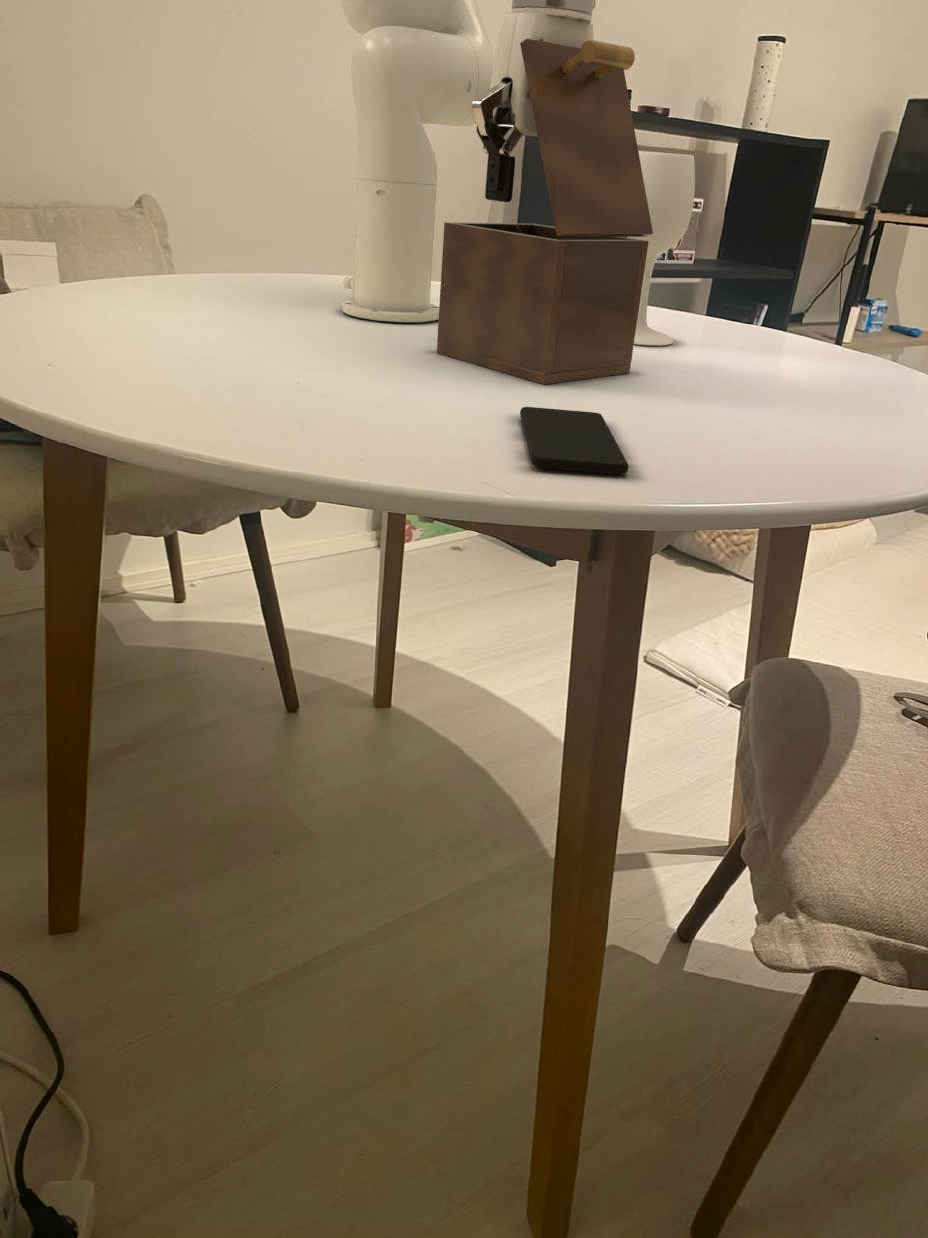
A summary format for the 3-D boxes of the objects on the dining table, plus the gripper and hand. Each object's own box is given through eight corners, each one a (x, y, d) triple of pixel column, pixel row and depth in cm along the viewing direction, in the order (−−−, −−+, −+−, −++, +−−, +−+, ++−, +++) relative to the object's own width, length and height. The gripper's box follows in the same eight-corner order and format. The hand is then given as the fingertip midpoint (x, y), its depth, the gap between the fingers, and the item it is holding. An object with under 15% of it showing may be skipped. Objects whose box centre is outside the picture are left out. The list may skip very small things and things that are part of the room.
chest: (436, 352, 105) (444, 222, 99) (521, 344, 113) (533, 223, 107) (544, 384, 94) (559, 240, 89) (629, 373, 102) (649, 240, 97)
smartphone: (602, 412, 82) (630, 465, 68) (600, 422, 82) (628, 477, 69) (520, 405, 82) (532, 457, 68) (518, 415, 82) (531, 469, 68)
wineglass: (678, 348, 118) (710, 156, 109) (607, 343, 118) (632, 150, 109) (666, 335, 126) (695, 155, 117) (599, 330, 126) (622, 149, 116)
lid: (519, 42, 87) (560, 13, 83) (614, 59, 95) (656, 33, 91) (556, 236, 89) (598, 216, 85) (646, 236, 97) (688, 218, 93)
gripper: (584, 15, 99) (563, 200, 106) (456, -12, 88) (443, 195, 95) (643, 14, 94) (617, 207, 101) (515, -16, 83) (496, 203, 90)
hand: (532, 201), depth 98 cm, fingers open, 9 cm apart
